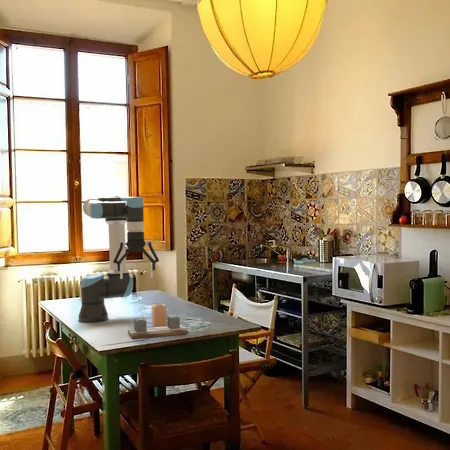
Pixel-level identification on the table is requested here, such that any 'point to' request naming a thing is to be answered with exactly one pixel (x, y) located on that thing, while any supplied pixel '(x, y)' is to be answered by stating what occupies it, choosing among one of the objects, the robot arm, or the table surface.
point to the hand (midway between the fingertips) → (136, 278)
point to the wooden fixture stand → (157, 328)
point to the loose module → (159, 315)
